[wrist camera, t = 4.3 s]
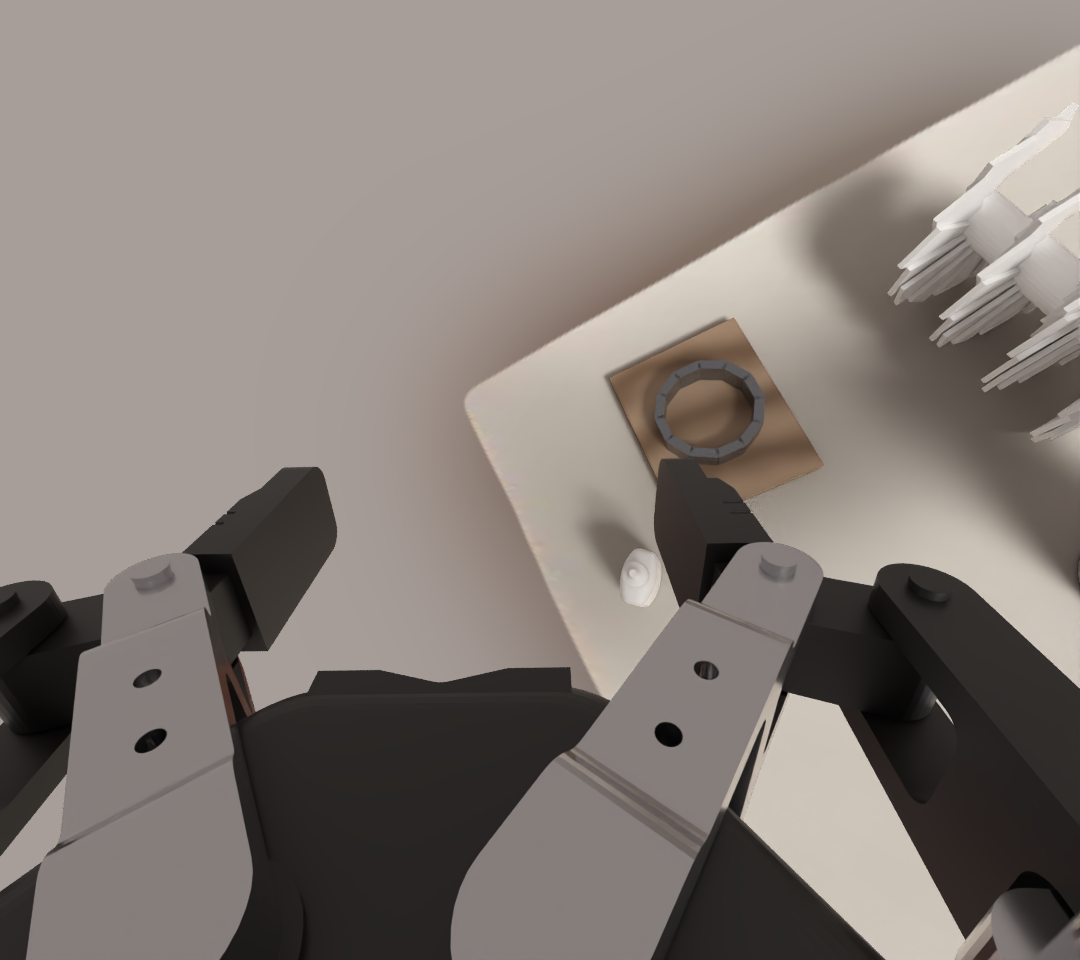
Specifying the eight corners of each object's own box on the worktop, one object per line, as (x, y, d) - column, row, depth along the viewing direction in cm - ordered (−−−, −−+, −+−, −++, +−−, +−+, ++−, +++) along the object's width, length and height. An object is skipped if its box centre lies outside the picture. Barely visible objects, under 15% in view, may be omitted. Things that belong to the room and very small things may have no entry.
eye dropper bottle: (677, 576, 55) (673, 567, 44) (642, 613, 55) (629, 613, 44) (647, 549, 57) (636, 534, 46) (613, 584, 57) (594, 578, 46)
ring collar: (780, 438, 54) (784, 429, 51) (682, 480, 56) (682, 474, 53) (731, 356, 58) (733, 343, 55) (641, 398, 60) (639, 388, 57)
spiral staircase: (1042, 470, 51) (874, 298, 59) (1283, 349, 42) (1048, 164, 50) (1093, 478, 37) (862, 248, 44) (1479, 296, 28) (1104, 47, 35)
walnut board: (820, 468, 54) (823, 464, 52) (679, 527, 56) (679, 525, 55) (732, 324, 60) (733, 317, 59) (611, 382, 63) (609, 377, 62)
